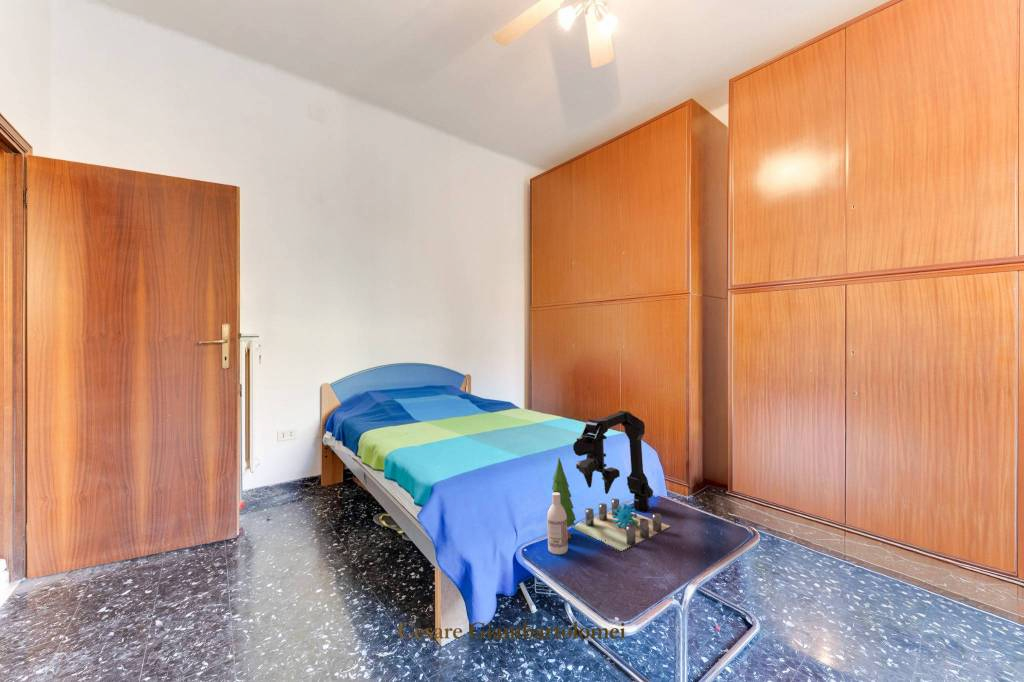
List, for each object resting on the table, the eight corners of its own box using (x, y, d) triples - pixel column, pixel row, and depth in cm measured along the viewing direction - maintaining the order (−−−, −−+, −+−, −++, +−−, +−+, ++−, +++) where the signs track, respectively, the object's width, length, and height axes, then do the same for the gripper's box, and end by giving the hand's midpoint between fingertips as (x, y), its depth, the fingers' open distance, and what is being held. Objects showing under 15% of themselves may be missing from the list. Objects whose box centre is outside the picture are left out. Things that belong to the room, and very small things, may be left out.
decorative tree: (557, 528, 157) (555, 453, 158) (580, 533, 153) (577, 455, 153) (548, 539, 148) (545, 459, 149) (572, 544, 144) (569, 462, 145)
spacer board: (620, 508, 175) (620, 507, 175) (669, 527, 155) (669, 526, 155) (572, 528, 157) (572, 527, 157) (621, 552, 138) (621, 550, 138)
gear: (607, 519, 159) (620, 498, 162) (613, 526, 162) (626, 506, 165) (629, 533, 150) (642, 511, 153) (635, 540, 153) (648, 518, 156)
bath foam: (569, 554, 137) (567, 496, 138) (549, 555, 137) (547, 497, 137) (565, 544, 144) (563, 489, 144) (546, 545, 144) (545, 490, 144)
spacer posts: (615, 512, 170) (614, 498, 171) (663, 530, 152) (662, 515, 152) (584, 524, 159) (583, 509, 159) (632, 546, 140) (631, 529, 141)
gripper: (565, 450, 161) (567, 488, 161) (599, 459, 146) (601, 502, 145) (585, 445, 168) (586, 482, 167) (619, 454, 152) (621, 495, 152)
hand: (597, 490), depth 158 cm, fingers open, 9 cm apart
